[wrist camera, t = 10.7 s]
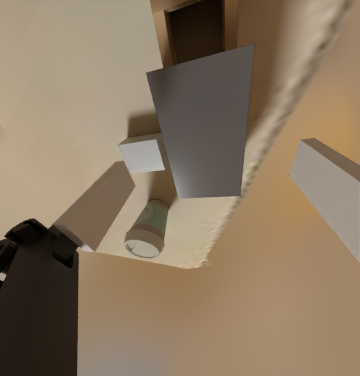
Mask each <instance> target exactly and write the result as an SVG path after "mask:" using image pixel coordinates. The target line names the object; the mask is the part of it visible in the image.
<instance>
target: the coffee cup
mask: <svg viewBox="0 0 360 376" xmlns="http://www.w3.org/2000/svg"><path fill="white" fill-rule="evenodd" d="M167 215H168V206H167V205H166V204H165V203H164V202H162V201H160V200H151V201H149V202H148V203H147V205H146V206H145V208H144V209H143V211H142V212H141V214H140V215H139V217H138V218H137V220H136V222H135V223H134V225H133V226H132V228H131V229H130V231H128V232H127V233H126V235H125V238H124V240H125V241H124V248H125V249H126V250H127V251H128V252H129V253H131V254H132V255H134V256H137V257H140V258H144V259H154V258H157V257H158V256H159V255H160V253H161V252H162V250H163V248H164V237H165V229H166V222H167Z"/></svg>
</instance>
